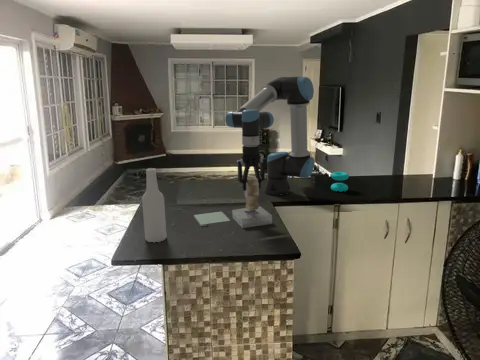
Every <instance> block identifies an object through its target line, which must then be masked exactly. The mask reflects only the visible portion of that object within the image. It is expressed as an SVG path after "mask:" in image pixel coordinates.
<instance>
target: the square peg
mask: <svg viewBox="0 0 480 360" xmlns="http://www.w3.org/2000/svg"><path fill="white" fill-rule="evenodd" d="M246 183H248V198H246V197H245V208H247V209H248V210H256V209H258V206H259V197H258V179H257V178H256V176H251V177H249V176H248V177H247V182H246Z"/></svg>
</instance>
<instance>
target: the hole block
mask: <svg viewBox="0 0 480 360" xmlns="http://www.w3.org/2000/svg"><path fill="white" fill-rule="evenodd" d="M231 212H232V213H231V214H232V219H233V220H234V221H235V222H236V223H237V224H238V225H239V226H240V227H241V228H242V229H246V228H251V227H258V226H267V225H272V224H273V215H272V214H271V213H270V212H269V211H267V210H266V209H265V208H263V207H262V206H260V205H258V209H256V210H248V209H247V208H246V207H243V208H236V209H232V211H231Z"/></svg>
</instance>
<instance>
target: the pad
mask: <svg viewBox="0 0 480 360" xmlns="http://www.w3.org/2000/svg"><path fill="white" fill-rule="evenodd" d="M193 218H194V219H195V221H196V222H197V223H198V224H199V226H200V227H209V224H216V223H222V222H223V223H224V222H230V221H231V219H229V217H227V215H226V214H225V213H224V212H223V211H214V212H207V213H199V214H194V215H193Z"/></svg>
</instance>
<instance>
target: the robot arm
mask: <svg viewBox="0 0 480 360" xmlns="http://www.w3.org/2000/svg"><path fill="white" fill-rule="evenodd" d="M314 92H315V91H314V83H313V81H312V80H311V78H310V77H307V76H289V77H288V76H280V77H277V78H274V79H272V80H270V81H269V82H268V83H266V84H264V85H263V86H262V87H261V89H260V91H259V92H258V93H257V94H255V95H254V96H253V97H252V98H250V99H249V100H248V101H246V102H245V103H244V104H243V105H241V106H240V107H239V108H238V109H237V110H230V111H228V112H227V113H226V115H225V116H224V117H225V118H224V119H225V124H226V126H227V127H229V128H234V129H237V128H239V129H241V130H242V131H241V132H242V133H241V136H242V139H241V141H242V143H241V144H242V146H241V147H242V156H241V159H239V160H238V159H237V160H236V161H235V163H236V165H237V181H238V182H239V183H241V184H242V191H244V197H245V199H246V198H248V183H246V182H247V178H249V171H250V169H251V167H253V171H254V175H255V176H254V177H255V178H257V179H258V198H259V197H260V191H259V190H261V187H262V185H261V183H262V181H265V180H266V182H265V186H264V193H265V194H267V195H269V194H273V195H272V196H281V195H280V194H286V195H288V194H287V193H289V194H291V191H292V190H291V185H290V182H289V179H288V178H289V177H293V178H300V179H301V178H304V179H307V178H309V177H311V176H312V173H313V171H314V168H315V164H316V162H315V158H314V157H312V156H311V152H310V151H309V150H308V113H307V111H308V109H307V108H308V107H307V106H308V105H310V102H311V100H313V98H314ZM280 100H281V101H282V100H285V101H286V104H287V105H288V106H289V107H290V109H289V111H290V113H289V114H290V116H289V117H290V141H291V142H290V143H291V144H290V145H291V151H289V152H288V151H277V152H271V153H269V154H268V155H267V159H266V158H264V157H261V154H260V147H261V146H260V131H261V130H266V129H268V128H271V127H272V126H273V124H274V122H275V119H274V116H273V114H272V113H271V112H270V111H262V110H263V109H265V108H266V107H267V106H268V105H269V104H271V103H274V102H275V101H280ZM259 162H260V164H259ZM243 163H244V169H243ZM258 164H259V165H258ZM266 164H267V170H266V169H265V167H266ZM259 168H260V169H259ZM266 171H267V179H265V172H266Z"/></svg>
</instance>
